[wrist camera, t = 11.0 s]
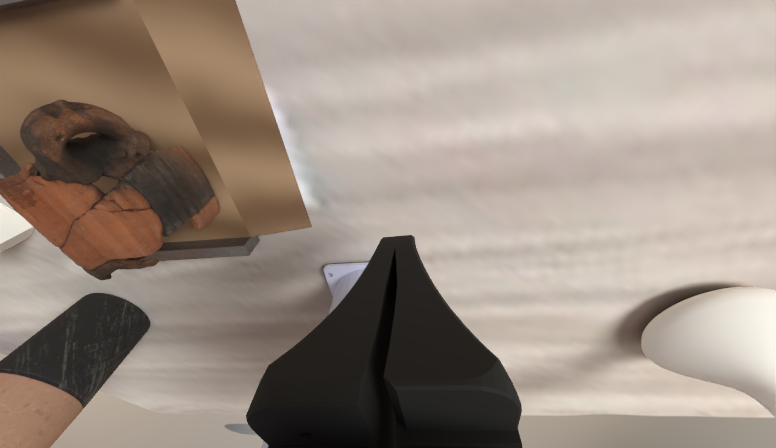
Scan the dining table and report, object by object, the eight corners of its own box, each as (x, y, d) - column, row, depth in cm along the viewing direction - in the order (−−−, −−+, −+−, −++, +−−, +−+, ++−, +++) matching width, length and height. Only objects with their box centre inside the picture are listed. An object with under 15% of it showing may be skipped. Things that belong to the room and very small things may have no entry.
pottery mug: (238, 239, 24) (132, 312, 19) (168, 183, 26) (56, 236, 21) (194, 110, 15) (-31, 184, 10) (92, 40, 17) (-136, 72, 12)
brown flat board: (314, 221, 24) (308, 232, 23) (109, 236, 26) (94, 247, 25) (233, -25, 15) (216, -30, 14) (-65, 31, 17) (-104, 31, 16)
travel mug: (92, 280, 29) (-323, 609, 12) (164, 318, 32) (-94, 622, 16) (70, 309, 32) (-285, 602, 16) (138, 341, 35) (-100, 615, 19)
